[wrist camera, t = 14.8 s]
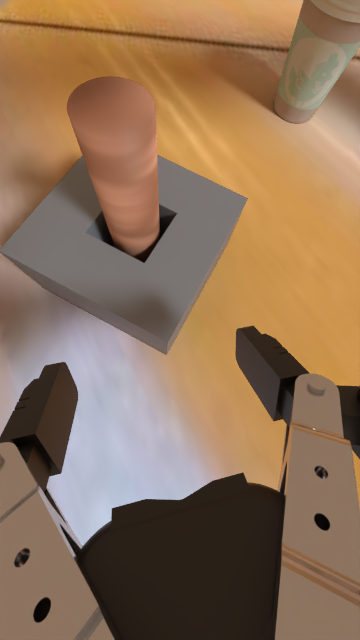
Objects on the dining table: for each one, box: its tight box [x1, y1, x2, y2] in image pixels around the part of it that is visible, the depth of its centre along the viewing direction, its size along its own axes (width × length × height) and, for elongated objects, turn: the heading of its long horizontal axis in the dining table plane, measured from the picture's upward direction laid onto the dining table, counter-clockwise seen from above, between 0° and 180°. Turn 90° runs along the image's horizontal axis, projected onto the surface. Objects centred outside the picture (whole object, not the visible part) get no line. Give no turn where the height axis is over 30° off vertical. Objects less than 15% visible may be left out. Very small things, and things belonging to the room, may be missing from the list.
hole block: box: [0, 155, 248, 355], centre depth 22 cm, size 14×14×7 cm
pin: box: [67, 77, 160, 263], centre depth 18 cm, size 4×4×14 cm
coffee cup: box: [274, 0, 360, 123], centre depth 28 cm, size 8×8×12 cm
